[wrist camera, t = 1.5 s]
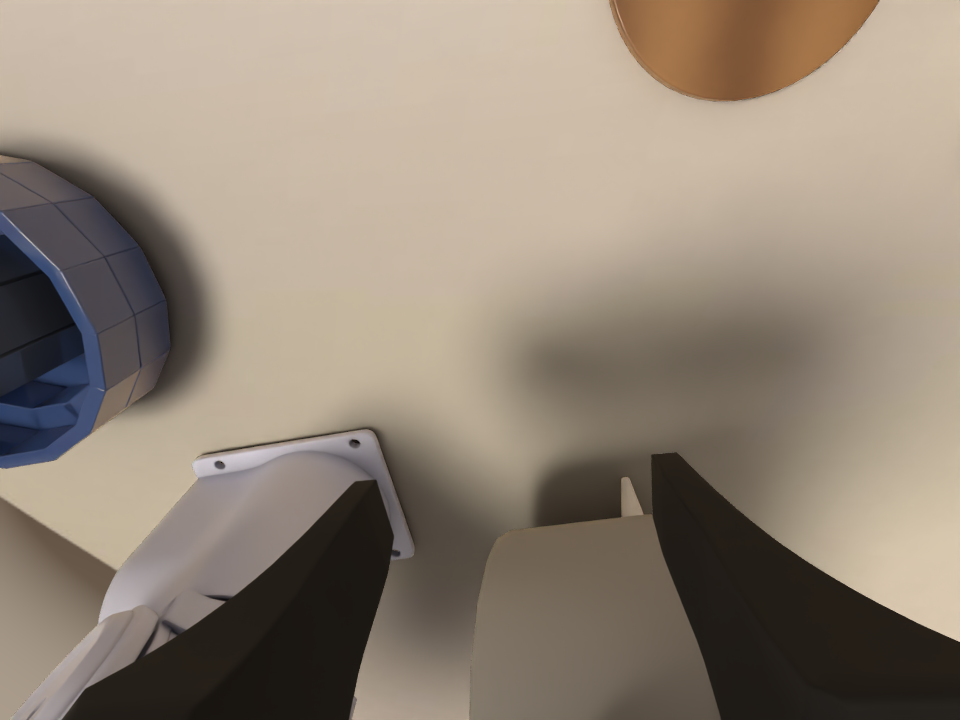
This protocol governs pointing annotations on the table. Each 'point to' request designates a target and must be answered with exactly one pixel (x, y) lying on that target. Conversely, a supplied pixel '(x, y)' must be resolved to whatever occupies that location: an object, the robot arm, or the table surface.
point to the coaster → (735, 41)
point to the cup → (31, 321)
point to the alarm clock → (585, 627)
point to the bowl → (79, 314)
